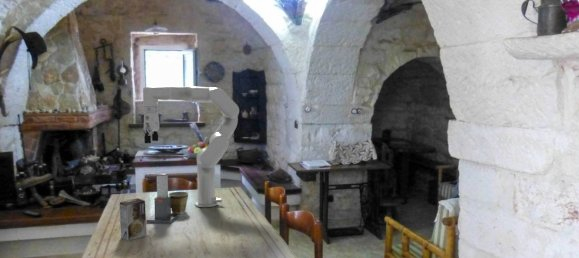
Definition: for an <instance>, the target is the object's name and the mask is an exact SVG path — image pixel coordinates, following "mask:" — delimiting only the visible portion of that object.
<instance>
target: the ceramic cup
mask: <svg viewBox="0 0 579 258" xmlns="http://www.w3.org/2000/svg"><path fill="white" fill-rule="evenodd" d="M168 196H171V213H174V214H179V215H183V214H185V213H186V211H187V205H188V204H187V203H188V200H189V199H188V198H189V192H187V191H173V192H170V193H169V192H168Z"/></svg>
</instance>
